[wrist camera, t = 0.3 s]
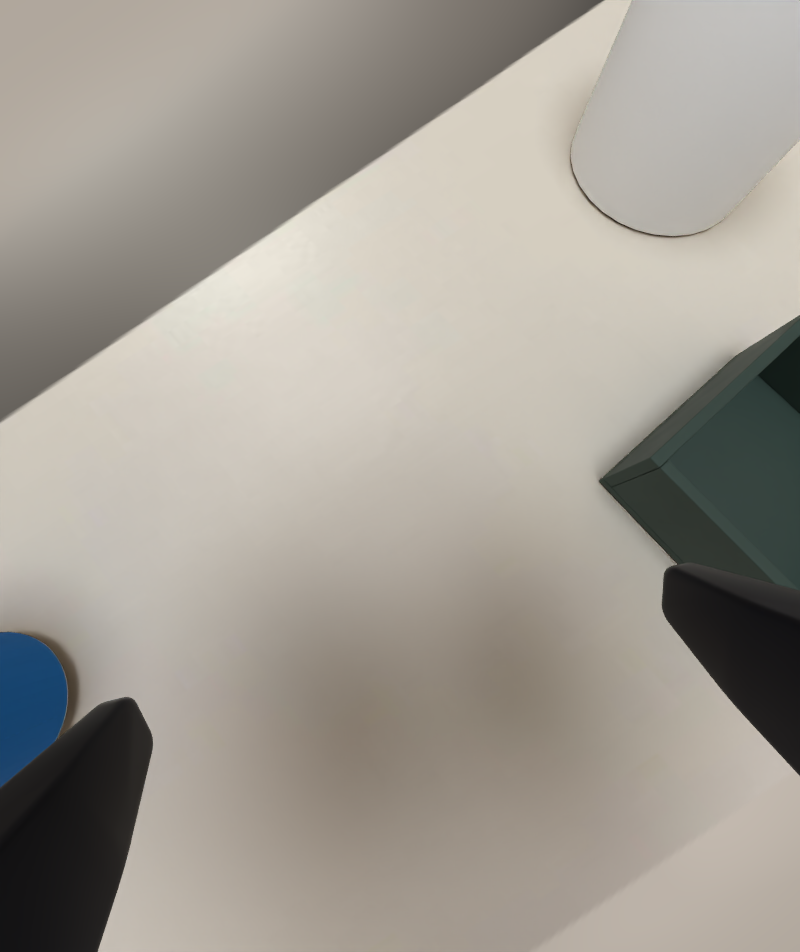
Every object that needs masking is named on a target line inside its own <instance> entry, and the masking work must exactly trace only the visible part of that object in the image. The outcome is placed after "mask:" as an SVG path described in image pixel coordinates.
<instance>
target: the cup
mask: <svg viewBox="0 0 800 952" xmlns="http://www.w3.org/2000/svg"><path fill="white" fill-rule="evenodd" d="M799 140H800V0H632V2H631V4H630V6H629V9H628V11H627V13H626V16H625V18H624V20H623V23H622V25H621V27H620V30H619V32H618V34H617V36H616V39H615V41H614V43H613V46H612V48H611V50H610V53H609V55H608V57H607V60H606V62H605V64H604V67H603V69H602V71H601V74H600V76H599V78H598V81H597V83H596V85H595V88H594V90H593V92H592V95H591V97H590V99H589V101H588V104H587V106H586V108H585V111H584V113H583V115H582V118H581V120H580V123H579V125H578V128H577V130H576V133H575V136H574V138H573V141H572V146H571V162H572V167H573V172H574V174H575V176H576V179H577V181H578V183H579V185H580V187H581V188H582V190H583V191H584V192H585V194H586V195H587V196H588V198H589V199H590V200H591V201H592V202H593V203H594V204H595V205H596V206H597V207H598V208H599V209H600V210H601V211H602V212H604V213H605V214H607V215H608V216H610V217H611V218H613V219H614V220H616V221H617V222H619V223H621V224H624V225H626V226H628V227H630V228H633V229H635V230H638V231H642V232H646V233H650V234H655V235H667V236H679V235H690V234H694V233H697V232H701V231H704V230H707V229H709V228H711V227H712V226H714V225H716V224H718V223H719V222H721V221H722V220H723V219H724V218H725V217H726V216H727V215H728V214H729V213H730V212H731V211H732V210H733V209H734V208H735V207H736V206H737V205H738V204H739V203H740V202H741V201H742V200H743V199H744V198H745V197H746V196H747V195H748V194H749V193H750V192H751V191H752V190H753V189H754V187H755V186H756V185H757V184H758V183H759V182H760V181H761V180H762V179H763V178H764V177H765V176H766V175H767V174H768V173H769V172H770V171H771V170H772V168H773V167H774V166H775V165H776V164H777V163H778V162H779V161H780V160H781V159H782V158H783V157H784V156H785V155H786V154H787V153H788V152H789V151H790V149H791V148H792V147H793V146H794V145H795V144H796V143H797V142H798V141H799Z"/></svg>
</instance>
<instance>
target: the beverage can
mask: <svg viewBox="0 0 800 952" xmlns="http://www.w3.org/2000/svg"><path fill="white" fill-rule="evenodd" d="M67 705H68V686H67V679H66V675H65V672H64V669H63V667H62V664H61V663H60V661H59V659H58V658H57V656H56V655H55V654H54V652H53V651H52V650H51V649H50V648H49V647H48V646H47V645H45V644H44V643H43V642H41V641H39V640H38V639H36V638H33V637H31V636H29V635H25V634H21V633H13V632H0V787H1V786H2V785H4V784H5V783H6V782H7V781H8V780H10V779H11V778H12V777H13V776H14V775H16V774H17V773H18V772H19V771H20V770H22V769H23V768H24V767H25V766H26V765H27V764H29V763H30V762H31V761H32V760H33V759H35V758H36V757H37V756H38V755H39V754H41V753H42V752H43V751H44V750H45V749H47V748H48V747H49V746H50V745H51V744H52V743H54V742H55V741H56V739H57V737H58V735H59V733H60V731H61V728H62V726H63V723H64V719H65V716H66V711H67Z"/></svg>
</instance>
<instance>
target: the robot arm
mask: <svg viewBox="0 0 800 952" xmlns="http://www.w3.org/2000/svg"><path fill="white" fill-rule="evenodd" d="M662 610H663V613H664V615H665V617H666V619H667V621H668V622H669V623H670V625H671V626H672V627H673V629H674V630H675V631H676V632H677V634H678V635H679V636H680V637H681V639H682V640H683V641H684V643H685V644H686V645H687V646H688V648H689V649H690V650H691V651H692V653H693V654H694V655H695V657H696V658H697V659H698V660H699V662H700V663H701V664H702V665H703V667H704V668H705V669H706V671H707V672H708V673H709V674H710V676H711V677H712V678H713V679H714V681H715V682H716V683H717V685H718V686H719V687H720V688H721V689H722V691H723V692H724V693H725V694H726V696H727V697H728V698H729V699H730V700H731V702H732V703H733V704H734V705H735V706H736V707H737V708H738V709H739V711H740V712H741V713H742V714H743V715H744V716H745V717H746V718H747V719H748V720H749V722H750V723H751V724H752V725H753V726H754V727H755V728H756V729H757V730H758V731H759V732H760V733H761V734H762V736H763V737H764V738H765V739H766V740H767V741H768V742H769V743H770V744H771V745H772V746H773V747H774V749H775V750H776V751H777V752H778V753H779V754H780V755H781V756H782V757H783V758H784V759H785V760H786V761H787V763H788V764H789V765H790V766H791V767H792V768H793V769H794V770H795V771H796V772H797V773H798V774H799V775H800V590H796V589H792V588H788V587H784V586H781V585H777V584H773V583H769V582H765V581H761V580H758V579H754V578H750V577H746V576H742V575H738V574H734V573H731V572H727V571H723V570H719V569H715V568H711V567H708V566H704V565H700V564H696V563H683V564H679V565H675V566H671V567H669V568H667V569H666V571H665V572H664V579H663V594H662ZM152 748H153V738H152V734H151V731H150V729H149V727H148V725H147V723H146V721H145V719H144V717H143V715H142V713H141V711H140V709H139V707H138V705H137V703H136V702H135V700H133V699H132V698H130V697H124V698H120V699H115V700H111V701H107V702H104V703H101V704H99V705H98V706H97V707H95V708H94V709H93V710H92V711H91V712H89V713H88V714H87V715H86V716H85V717H83V718H82V719H81V720H80V721H79V722H77V723H76V724H75V725H74V726H73V727H72V728H70V729H69V730H68V731H67V732H66V733H64V734H63V735H62V736H61V737H60V738H58V739H57V740H56V741H55V742H54V743H52V744H51V745H50V746H49V747H48V748H47V749H45V750H44V751H43V752H42V753H41V754H39V755H38V756H37V757H36V758H35V759H33V760H32V761H31V762H30V763H29V764H27V765H26V766H25V767H24V768H23V769H22V770H20V771H19V772H18V773H17V774H16V775H14V776H13V777H12V778H11V779H10V780H8V781H7V782H6V783H5V784H4V785H2V786H1V787H0V952H98V949H99V945H100V942H101V939H102V936H103V933H104V930H105V927H106V924H107V921H108V918H109V915H110V912H111V909H112V905H113V902H114V899H115V896H116V893H117V890H118V887H119V883H120V880H121V877H122V874H123V870H124V867H125V863H126V859H127V855H128V852H129V848H130V844H131V839H132V835H133V831H134V826H135V822H136V818H137V814H138V809H139V805H140V801H141V797H142V792H143V788H144V784H145V779H146V775H147V771H148V767H149V762H150V758H151V754H152Z"/></svg>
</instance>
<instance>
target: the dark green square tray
mask: <svg viewBox="0 0 800 952" xmlns="http://www.w3.org/2000/svg"><path fill="white" fill-rule="evenodd" d="M599 482H600V483H601V484H602V485H603V486H604V487H605V488H606V489H607V490H608V491H609V492H610V493H611V494H612V495H613V496H614V497H615V498H616V499H617V501H618V502H619V503H620V504H621V505H622V506H623V507H624V508H625V509H626V510H627V511H628V512H629V513H630V514H631V515H632V516H633V517H634V518H635V519H636V520H637V521H638V522H639V524H640V525H641V526H642V527H643V528H644V529H645V530H646V531H647V532H648V533H649V534H650V535H651V536H652V537H653V538H654V539H655V540H656V541H657V542H658V543H659V544H660V545H661V547H662V548H663V549H664V550H665V551H666V552H667V553H668V554H669V555H670V556H671V557H672V558H673V559H674V560H675V561H676V562H677V563H678V564H683V563H696V564H700V565H704V566H708V567H711V568H715V569H719V570H723V571H727V572H731V573H734V574H738V575H742V576H746V577H750V578H754V579H758V580H761V581H765V582H769V583H773V584H777V585H781V586H784V587H788V588H792V589H796V590H800V315H799V316H798V317H796V318H795V319H793V320H791V321H790V322H788V323H787V324H785V325H784V326H782V327H780V328H779V329H777V330H776V331H774V332H772V333H771V334H769V335H768V336H766V337H765V338H763V339H761V340H760V341H758V342H757V343H755V344H754V345H752V346H750V347H749V348H747V349H746V350H744V351H743V352H741V353H739V354H738V355H736V356H735V357H734V358H733V359H732V360H731V361H730V362H729V363H727V364H726V365H725V366H724V367H723V368H722V369H721V370H720V371H719V372H718V373H717V374H715V375H714V376H713V377H712V378H711V379H710V380H709V381H708V382H707V383H706V384H704V385H703V386H702V387H701V388H700V389H699V390H698V391H697V392H696V393H695V394H694V395H692V396H691V397H690V398H689V399H688V400H687V401H686V402H685V403H684V404H683V405H681V406H680V407H679V408H678V409H677V410H676V411H675V412H674V413H673V414H672V415H671V416H669V417H668V418H667V419H666V420H665V421H664V422H663V423H662V424H661V425H660V426H658V427H657V428H656V429H655V430H654V431H653V432H652V433H651V434H650V435H649V436H648V437H646V438H645V439H644V440H643V441H642V442H641V443H640V444H639V445H638V446H637V447H635V448H634V449H633V450H632V451H631V452H630V453H629V454H628V455H627V456H626V457H625V458H623V459H622V460H621V461H620V462H619V463H618V464H617V465H616V466H615V467H614V468H612V469H611V470H610V471H609V472H608V473H607V474H606V475H605V476H604V477H603V478H602V479H600V481H599Z"/></svg>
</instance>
